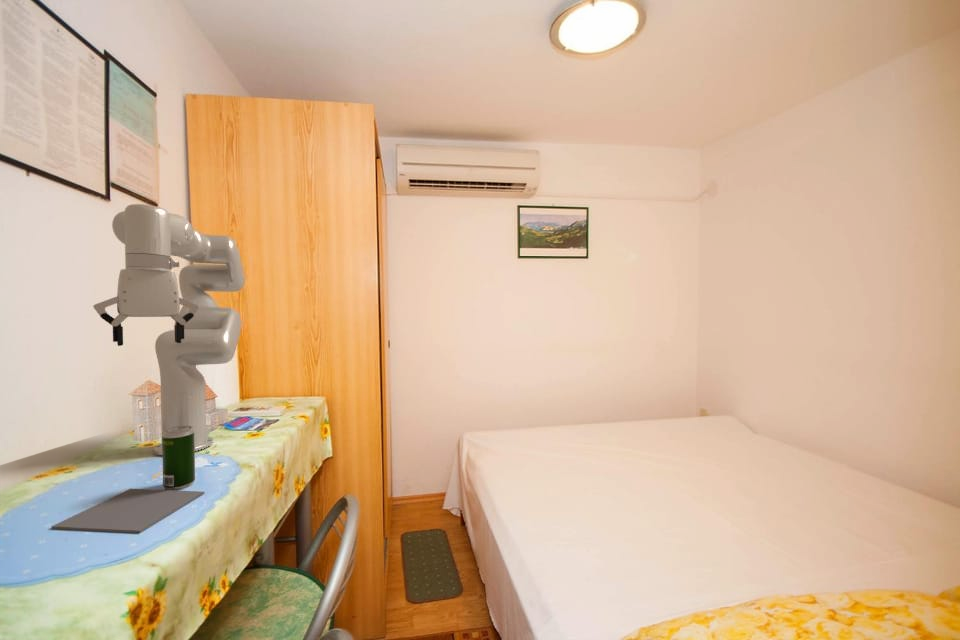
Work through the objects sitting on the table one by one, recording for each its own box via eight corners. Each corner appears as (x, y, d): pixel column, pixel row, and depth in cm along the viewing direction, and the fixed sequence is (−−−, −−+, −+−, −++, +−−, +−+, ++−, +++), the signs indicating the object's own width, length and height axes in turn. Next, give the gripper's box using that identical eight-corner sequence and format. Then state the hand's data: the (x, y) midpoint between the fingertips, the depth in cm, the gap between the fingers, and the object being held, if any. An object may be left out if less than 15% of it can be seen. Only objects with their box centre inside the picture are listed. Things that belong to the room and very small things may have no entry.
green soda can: (183, 491, 80) (182, 433, 80) (156, 491, 80) (155, 433, 80) (200, 479, 86) (200, 425, 86) (175, 480, 86) (174, 425, 85)
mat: (130, 490, 81) (130, 488, 81) (204, 493, 79) (204, 491, 79) (51, 528, 67) (51, 526, 67) (139, 533, 66) (139, 530, 66)
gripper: (194, 268, 93) (195, 340, 94) (91, 262, 81) (93, 345, 81) (201, 266, 88) (202, 342, 89) (92, 259, 76) (94, 347, 76)
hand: (150, 343), depth 85 cm, fingers open, 9 cm apart
